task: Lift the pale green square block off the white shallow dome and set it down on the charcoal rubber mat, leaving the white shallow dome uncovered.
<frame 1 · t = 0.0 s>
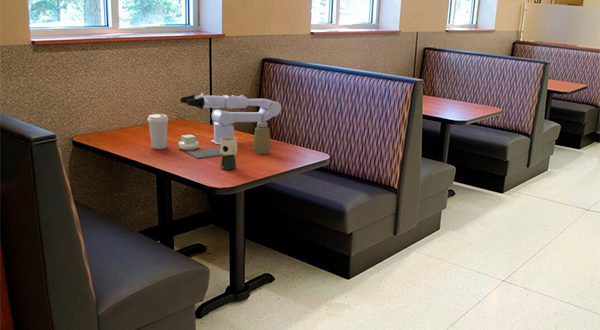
hand: (184, 101, 276), 22 cm above the table, tool horizontal, fingers open, 7 cm apart
character mug: (228, 169, 250), on the table
white shallow dome: (188, 148, 279), on the table
pale green square block: (188, 142, 278), point 3 cm above the table, touching white shallow dome
mat: (208, 153, 272), on the table
coffee cup: (159, 147, 280), on the table
squeeze bottle: (261, 153, 275), on the table
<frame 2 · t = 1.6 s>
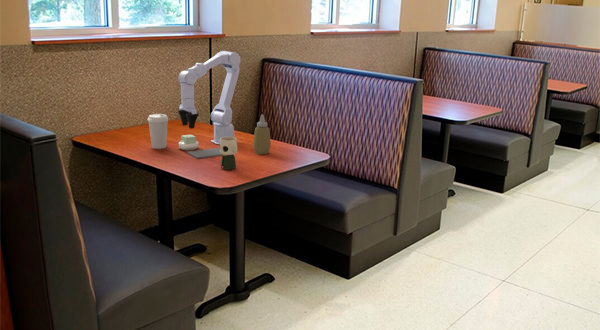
hand: (188, 126, 276), 10 cm above the table, tool pointing down, fingers open, 7 cm apart
nothing on the table moved.
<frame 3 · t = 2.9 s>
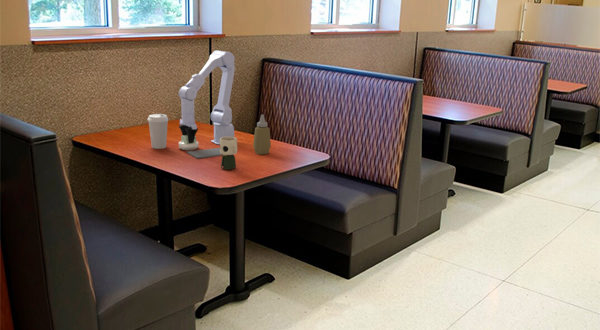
hand: (188, 141, 278), 3 cm above the table, tool pointing down, fingers closed on pale green square block, 5 cm apart
pale green square block: (188, 142, 278), point 3 cm above the table, touching white shallow dome, gripper
everything else where it was.
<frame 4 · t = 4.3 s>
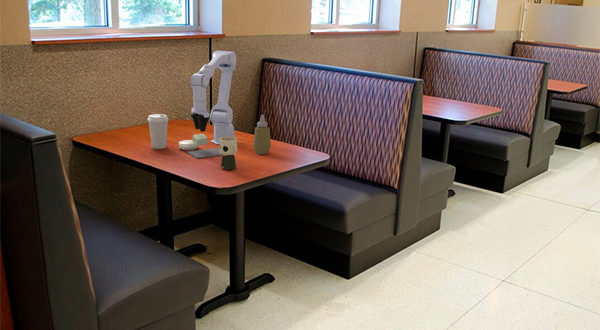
hand: (200, 130, 272), 10 cm above the table, tool pointing down, fingers open, 5 cm apart
pale green square block: (199, 142, 273), point 4 cm above the table, tilted 13°
everything else where it was.
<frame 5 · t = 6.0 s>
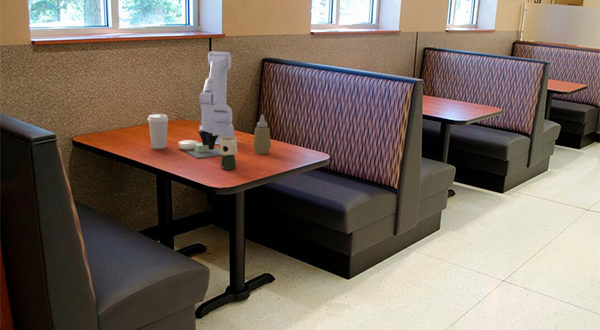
hand: (208, 148, 271), 3 cm above the table, tool pointing down, fingers open, 5 cm apart
pale green square block: (201, 150, 274), point 1 cm above the table, touching gripper, mat
everything else where it was.
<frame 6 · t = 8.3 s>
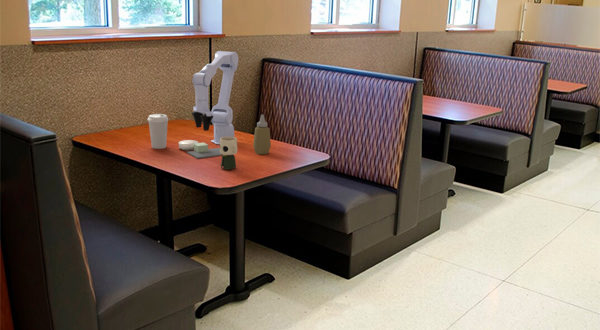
hand: (202, 128, 274), 10 cm above the table, tool pointing down, fingers open, 7 cm apart
pale green square block: (201, 150, 274), point 1 cm above the table, touching mat
everything else where it was.
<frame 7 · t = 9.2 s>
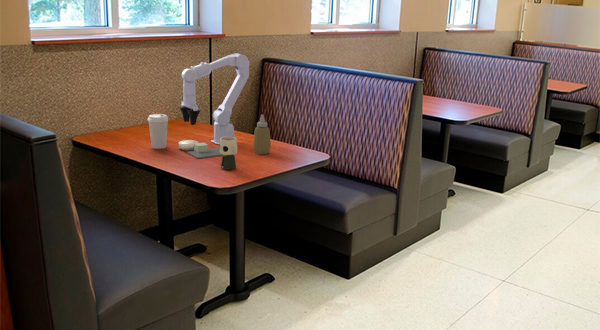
hand: (189, 123, 284), 10 cm above the table, tool pointing down, fingers open, 7 cm apart
nothing on the table moved.
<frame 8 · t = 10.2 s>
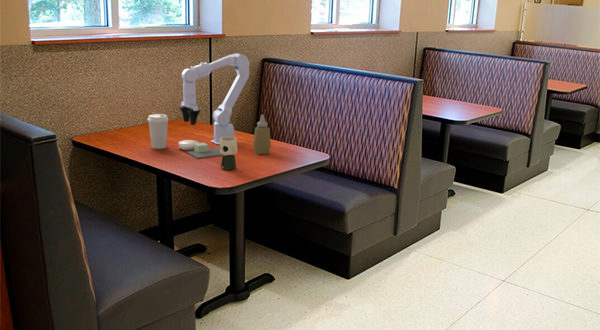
hand: (189, 123, 284), 10 cm above the table, tool pointing down, fingers open, 7 cm apart
nothing on the table moved.
at the end: pale green square block inside the target area on the mat (4.6 cm from its centre), point 0.6 cm above the mat's base; pale green square block touching mat; the gripper is holding nothing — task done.
